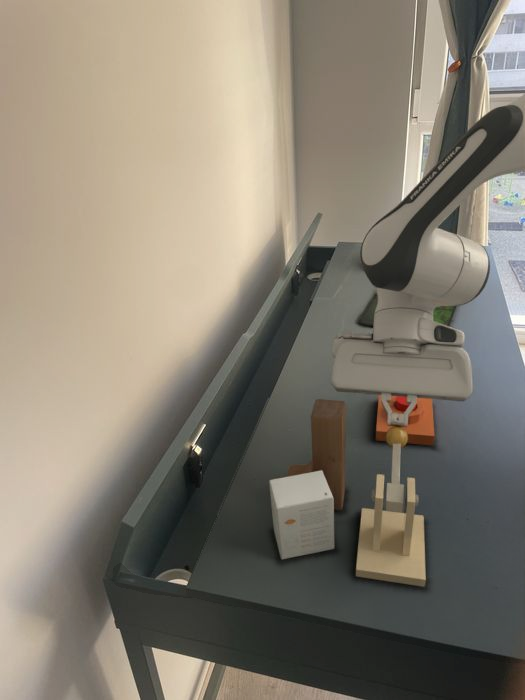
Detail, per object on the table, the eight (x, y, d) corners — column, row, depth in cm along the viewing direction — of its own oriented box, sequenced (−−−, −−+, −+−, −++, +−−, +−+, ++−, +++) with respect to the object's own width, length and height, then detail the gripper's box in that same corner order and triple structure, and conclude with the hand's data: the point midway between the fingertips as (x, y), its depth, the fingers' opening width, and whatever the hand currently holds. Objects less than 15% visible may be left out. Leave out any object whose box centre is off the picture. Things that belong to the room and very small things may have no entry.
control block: (378, 401, 105) (379, 385, 103) (430, 405, 103) (432, 388, 101) (375, 440, 95) (376, 422, 93) (433, 445, 93) (435, 427, 91)
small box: (324, 520, 80) (323, 468, 75) (335, 550, 75) (335, 497, 70) (272, 530, 79) (268, 478, 74) (280, 561, 75) (276, 508, 69)
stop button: (395, 400, 99) (396, 392, 98) (415, 402, 98) (416, 394, 98) (395, 411, 96) (395, 404, 95) (415, 413, 95) (416, 405, 95)
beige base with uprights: (361, 514, 81) (363, 456, 75) (422, 522, 79) (429, 462, 73) (355, 576, 72) (357, 515, 66) (424, 587, 69) (432, 524, 64)
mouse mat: (446, 337, 125) (446, 333, 125) (356, 324, 134) (356, 321, 133) (462, 292, 146) (462, 288, 145) (383, 283, 155) (383, 280, 154)
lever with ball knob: (385, 434, 80) (386, 420, 77) (407, 436, 79) (409, 422, 77) (381, 511, 71) (382, 498, 68) (406, 514, 70) (407, 501, 68)
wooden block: (285, 504, 84) (278, 413, 75) (290, 484, 87) (285, 395, 78) (342, 511, 81) (342, 419, 73) (345, 490, 85) (346, 400, 76)
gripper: (332, 325, 80) (324, 416, 77) (476, 333, 75) (473, 430, 72) (335, 337, 86) (328, 422, 83) (468, 344, 81) (466, 434, 78)
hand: (397, 426), depth 77 cm, fingers closed, pressing on lever with ball knob
